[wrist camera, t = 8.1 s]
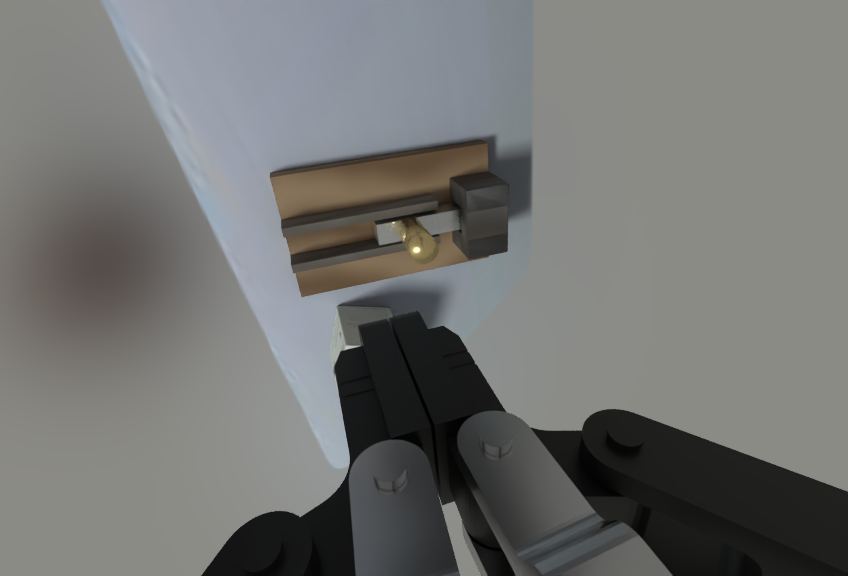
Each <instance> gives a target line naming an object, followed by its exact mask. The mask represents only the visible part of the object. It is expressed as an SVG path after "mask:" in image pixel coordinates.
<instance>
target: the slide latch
mask: <svg viewBox="0 0 848 576" xmlns="http://www.w3.org/2000/svg"><path fill="white" fill-rule="evenodd" d="M373 227H374V233H375V238H376V240H377V242H378V244H379V245H384V244H389V243H394V242H399V241H402V242H403V244H404V246H405V247H406V249H407V250H408V252H409V253H410V255H411V257H412V258H413V260H414V261H415V262H417V263H419V264H427V263H430V262H431V261H433V260H434V259H435V258H436V257H437V255H438V252H439V246H438V244H437V242H436V241H435V239H434V238H433V237H432V236H431V235H434V234H439V233H444V232H449V231H455V230H460V229H461V207H460V206H459V205H458V204H457V203H450V204H444V205H439V206H438V209H436V210H431V211H425V212H420V213H414V214H409V215H404V216H398V217H393V218H388V219H382V220H377V221H373Z"/></svg>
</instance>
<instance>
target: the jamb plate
mask: <svg viewBox="0 0 848 576" xmlns="http://www.w3.org/2000/svg"><path fill="white" fill-rule="evenodd" d="M270 179H271V183H272V187H273V191H274V194H275V198H276V202H277V206H278V210H279V213H280V217H281V228H282V233H283V236H284V238H285V237H286V240H287V243H288V247H289V251H290V255H291V266H292V270H293V273H296V277H297V281H298V285H299V288H300V292H301V296H302V297H304V296H309V295H314V294H318V293H323V292H328V291H332V290H337V289H342V288H346V287H351V286H356V285H360V284H365V283H370V282H374V281H379V280H384V279H388V278H393V277H397V276H402V275H407V274H411V273H416V272H421V271H425V270H430V269H435V268H439V267H444V266H449V265H453V264H458V263H463V262H467V261H472V260H477V259H481V258H486V257H489V255H494V254H498V253H503V252H507V250H508V195H509V184H508V183H507V182H505V181H503V180H502V179H500V178H498V177H497V176H495V175H493V174H492V173H490V172H488V143H486V142H484V141H482V140H481V141H475V142H468V143H462V144H455V145H449V146H442V147H436V148H429V149H423V150H416V151H410V152H403V153H397V154H390V155H384V156H378V157H371V158H365V159H358V160H352V161H345V162H339V163H332V164H326V165H319V166H313V167H306V168H300V169H293V170H287V171H280V172H274V173H270ZM450 203H457V204H458V205H459V206H460V207H461V229H460V230H455V231H449V232H444V233H439V234H434V235H431V236H432V237H433V238H434V239H435V241H436V242H437V244H438V246H439V252H438V255H437V257H436V258H435V259H434V260H433V261H431V262H430V263H427V264H419V263H417V262H415V261H414V260H413V258H412V257H411V255H410V253H409V252H408V250H407V249H406V247H405V246H404V244H403V242H402V241H399V242H394V243H389V244H384V245H379V244H378V242H377V240H376V238H375V233H374V227H373V221H377V220H382V219H388V218H393V217H398V216H404V215H409V214H414V213H420V212H425V211H431V210H436V209H438V206H439V205H444V204H450Z"/></svg>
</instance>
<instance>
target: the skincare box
mask: <svg viewBox="0 0 848 576" xmlns="http://www.w3.org/2000/svg"><path fill="white" fill-rule="evenodd" d="M390 317H393V315H392V313H391V310H390V308H385V307H359V306H337V307H336V317H335V324H334V331H333V336H332V341H331V346H330V355H331V361H332V366H333V371H334V376H335V381H336V375H335V370H334V366H335V364H336V361H337V359H338V356H339V354H340V351H343V350H347V349H351V348H355V347H359V346H361V342H360V337H359V332H358V325H361V324H365V323H369V322H374V321H378V320H382V319H388V321H389V318H390ZM336 387H337V392H338V386H337V381H336ZM338 393H339V392H338Z"/></svg>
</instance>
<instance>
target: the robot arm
mask: <svg viewBox="0 0 848 576" xmlns="http://www.w3.org/2000/svg"><path fill="white" fill-rule="evenodd" d="M358 332H359V337H360V342H361V346H359V347H355V348H351V349H347V350H343V351H340V354H339V356H338V359H337V361H336V364H335V366H334V370H335V375H336V381H337V386H338V392H339V398H340V403H341V409H342V414H343V420H344V426H345V431H346V437H347V442H348V448H349V453H350V465H349V469H348V473H347V475H346V477H345V480H344V481H343V483H342V484H341V486H340V487H339V488H338V489H337V491H336V492H335V493H334V494H333V495H332V496H331V497H330V498H328V499H327V500H326V501H324V502H323V503H322V504H320V505H319V506H317V507H315V508H314V509H312V510H311V511H309V512H308V513H306V514H305V515H303V516H302V517H299V516H297V515H295V514H293V513H290V512H285V511H275V512H269V513H265V514H262V515H260V516H257V517H255V518H253V519H252V520H250V521H248V522H247V523H245V524H244V525H243V526H242V527H240V528H239V529H238V530H237V531H236V532H235V533H234V534H233V535H232V536H231V537H230V538H229V540H228V541H227V542H226V544H225V545H224V546H223V547H222V549H221V550H220V552H219V553H218V554H217V556H216V557H215V558H214V560H213V561H212V562H211V563H210V565H209V566H208V567H207V569H206V570H205V572H204V573H203V574H202V576H460V573H459V570H458V566H457V563H456V559H455V555H454V551H453V548H452V544H451V540H450V537H449V533H448V529H447V525H446V522H445V518H444V514H443V511H442V507H441V504H440V500H441V503H442V505H444V504H447V503H450V502H453V501H455V503H456V505H457V508H458V510H459V513H460V516H461V518H462V529H463V536H464V539H465V542H466V544H467V546H468V548H469V551H470V552H471V555H472V557H473V559H474V561H475V563H476V566H477V568H478V570H479V572H480V574H481V576H848V492H847V491H844V490H842V489H839V488H836V487H833V486H831V485H828V484H825V483H822V482H820V481H817V480H814V479H812V478H809V477H806V476H804V475H801V474H798V473H795V472H793V471H790V470H787V469H784V468H782V467H779V466H776V465H774V464H771V463H768V462H765V461H763V460H760V459H757V458H754V457H752V456H749V455H746V454H744V453H741V452H738V451H736V450H733V449H730V448H727V447H725V446H722V445H719V444H716V443H714V442H711V441H709V440H706V439H703V438H700V437H698V436H695V435H692V434H689V433H687V432H684V431H681V430H679V429H676V428H673V427H670V426H668V425H665V424H662V423H660V422H657V421H654V420H651V419H649V418H646V417H643V416H641V415H638V414H635V413H632V412H629V411H625V410H618V409H617V410H616V409H607V410H602V411H599V412H596V413H594V414H592V415H591V416H590V417H589V418H587V420H586V421H585V423H584V425H583V428H582V431H544V430H538V429H534V428H530V427H529V426H528V425H527V424H526V423H525V422H524V421H523V420H522V419H520V418H518V417H517V416H515V415H513V414H510V413H507V412H506V411H505V409H504V408H503V406H502V405H501V403H500V402H499V400H498V398H497V397H496V395H495V394H494V392H493V390H492V389H491V387H490V385H489V384H488V383H487V381H486V379H485V377H484V376H483V374H482V373H481V371H480V369H479V368H478V366H477V365H475V362H474V360H473V358H472V357H471V355H470V353H468V351H467V349H466V347H465V345H464V344H463V342H462V340H461V339H460V337H459V336H458V335H457V334H455V333H453V332H452V331H450V330H449V329H447V328H446V327H444V326H440V327H436V328H432V329H428V328H427V326H426V325H425V323H424V321H423V319H422V317H421V315H420V313H419V312H418V311H416V312H412V313H407V314H403V315H399V316H395V317H390V318H389V321H388V319H382V320H378V321H374V322H369V323H365V324H361V325H358ZM438 494H439V496H438ZM439 497H440V499H439Z"/></svg>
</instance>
